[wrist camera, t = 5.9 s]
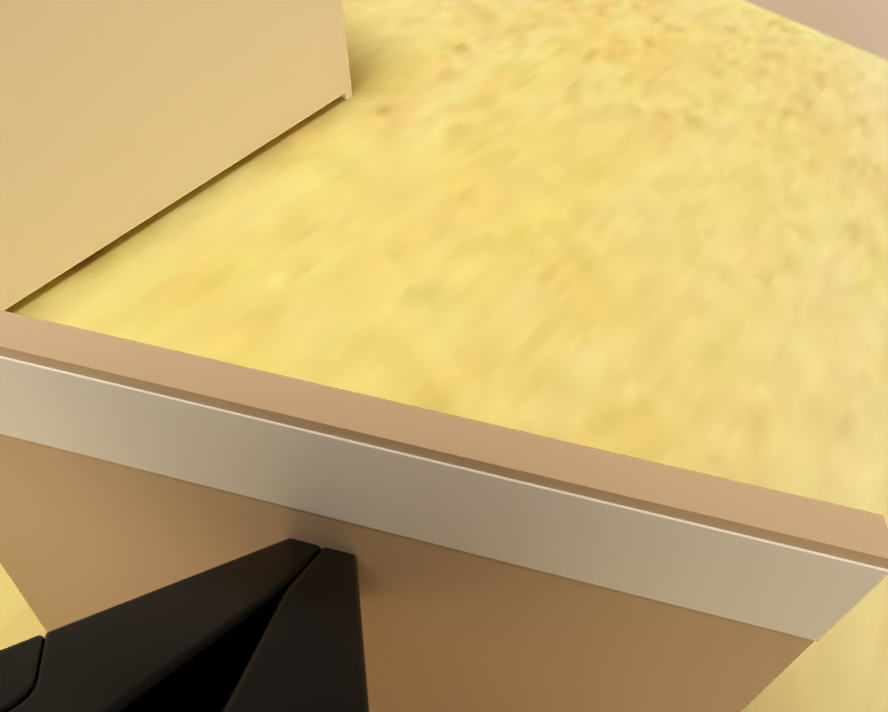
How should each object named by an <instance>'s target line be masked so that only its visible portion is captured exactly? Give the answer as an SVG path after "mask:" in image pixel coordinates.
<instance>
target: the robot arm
mask: <svg viewBox="0 0 888 712" xmlns="http://www.w3.org/2000/svg"><path fill="white" fill-rule="evenodd" d="M0 712H369V700H368V688H367V676H366V664H365V652H364V640H363V627H362V615H361V603H360V591H359V579H358V567H357V557H356V556H355V555H353V554H350V553H347V552H343V551H339V550H335V549H331V548H327V547H325V548H323V549H322V550H321V548H320V547H319V546H318V545H316V544H312V543H308V542H304V541H300V540H296V539H292V538H288V539H286V540H283V541H280V542H278V543H275V544H273V545H270V546H268V547H265V548H262V549H260V550H257V551H255V552H252V553H250V554H247V555H244V556H242V557H239V558H237V559H234V560H232V561H229V562H226V563H224V564H221V565H219V566H216V567H214V568H211V569H209V570H206V571H203V572H201V573H198V574H196V575H193V576H191V577H188V578H185V579H183V580H180V581H178V582H175V583H173V584H170V585H167V586H165V587H162V588H160V589H157V590H155V591H152V592H149V593H147V594H144V595H142V596H139V597H137V598H134V599H131V600H129V601H126V602H124V603H121V604H119V605H116V606H113V607H111V608H108V609H106V610H103V611H101V612H98V613H95V614H93V615H90V616H88V617H85V618H83V619H80V620H77V621H75V622H72V623H70V624H67V625H64V626H62V627H59V628H57V629H54V630H52V631H49V632H47V633H46V635H45V638H43V637H42V636H40V635H39V636H36V637H33V638H31V639H28V640H26V641H23V642H20V643H18V644H15V645H13V646H10V647H8V648H5V649H2V650H0Z"/></svg>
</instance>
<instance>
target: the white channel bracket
mask: <svg viewBox="0 0 888 712" xmlns="http://www.w3.org/2000/svg"><path fill="white" fill-rule="evenodd" d="M340 96H341V97H343V98H344V99H346V100H347V99H348V98H350V97H351V96H352V86H351V77H350V68H349V59H348V50H347V40H346V31H345V22H344V13H343V4H342V0H0V310H2V311H4V310H6V309H7V308H9V307H10V306H12V305H14V304H15V303H17V302H18V301H20V300H21V299H23V298H25V297H26V296H28V295H29V294H31V293H32V292H34V291H36V290H37V289H39V288H40V287H42V286H43V285H45V284H47V283H48V282H50V281H51V280H53V279H54V278H56V277H58V276H59V275H61V274H62V273H64V272H65V271H67V270H69V269H70V268H72V267H73V266H75V265H76V264H78V263H80V262H81V261H83V260H85V259H88V257H89V256H90V255H92V254H94V253H95V252H97V251H98V250H100V249H101V248H103V247H105V246H106V245H108V244H109V243H111V242H112V241H114V240H116V239H117V238H119V237H120V236H122V235H123V234H125V233H127V232H128V231H130V230H131V229H133V228H134V227H136V226H138V225H139V224H141V223H142V222H144V221H145V220H147V219H149V218H150V217H152V216H153V215H155V214H156V213H158V212H160V211H161V210H163V209H164V208H166V207H167V206H169V205H171V204H172V203H174V202H175V201H177V200H178V199H180V198H181V197H183V196H185V195H186V194H188V193H189V192H191V191H192V190H194V189H196V188H197V187H199V186H200V185H202V184H203V183H205V182H207V181H208V180H210V179H211V178H213V177H214V176H216V175H218V174H219V173H221V172H222V171H224V170H225V169H227V168H229V167H230V166H232V165H233V164H235V163H236V162H238V161H240V160H241V159H243V158H244V157H246V156H247V155H249V154H251V153H252V152H254V151H255V150H257V149H258V148H260V147H262V146H263V145H265V144H266V143H268V142H269V141H271V140H272V139H274V138H276V137H277V136H279V135H280V134H282V133H283V132H285V131H287V130H288V129H290V128H291V127H293V126H294V125H296V124H298V123H299V122H301V121H302V120H304V119H305V118H307V117H309V116H310V115H312V114H313V113H315V112H316V111H318V110H320V109H321V108H323V107H324V106H326V105H327V104H329V103H331V102H332V101H334V100H335V99H337V98H338V97H340Z"/></svg>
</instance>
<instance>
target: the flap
mask: <svg viewBox="0 0 888 712" xmlns="http://www.w3.org/2000/svg"><path fill="white" fill-rule="evenodd" d="M288 538H292V539H296V540H300V541H304V542H308V543H312V544H316V545H318V546H319V547H320V548H321V550H322V549H323V548H325V547H327V548H331V549H335V550H339V551H343V552H347V553H350V554H353V555H355V556H356V557H357V567H358V579H359V591H360V603H361V615H362V627H363V640H364V652H365V664H366V676H367V688H368V700H369V712H741V711H742V710H743V709H744V708H745V707H746V706H747V705H748V704H749V703H750V702H751V701H752V700H753V699H754V698H755V697H756V696H757V695H758V694H759V693H760V692H761V691H762V690H764V689H765V688H766V687H767V686H768V685H769V684H770V683H771V682H772V681H773V680H774V679H775V678H776V677H777V676H778V675H779V674H780V673H781V672H782V671H783V670H784V669H785V668H786V667H788V666H789V665H790V664H791V663H792V662H793V661H794V660H795V659H796V658H797V657H798V656H799V655H800V654H801V653H802V652H803V651H804V650H805V649H806V648H807V647H808V646H809V645H810V644H812V643H813V642H814V641H818V640H819V639H820V638H821V637H822V636H823V635H824V634H825V633H826V632H827V631H829V630H830V629H831V628H832V627H833V626H834V625H835V624H836V623H837V622H838V621H839V620H840V619H841V618H842V617H843V616H844V615H845V614H846V613H847V612H848V611H850V610H851V609H852V608H853V607H854V606H855V605H856V604H857V603H858V602H859V601H860V600H861V599H862V598H863V597H864V596H865V595H866V594H867V593H868V592H870V591H871V590H872V589H873V588H874V587H875V586H876V585H877V584H878V583H879V582H880V581H881V580H882V579H883V578H884V577H885V576H886V575H887V574H888V529H887V526H886V523H885V520H884V517H883V515H879V514H875V513H871V512H866V511H862V510H858V509H854V508H849V507H845V506H841V505H836V504H832V503H828V502H823V501H819V500H815V499H811V498H806V497H802V496H798V495H793V494H789V493H785V492H780V491H776V490H772V489H768V488H763V487H759V486H755V485H750V484H746V483H742V482H737V481H733V480H729V479H725V478H720V477H716V476H712V475H707V474H703V473H699V472H695V471H690V470H686V469H682V468H677V467H673V466H669V465H664V464H660V463H656V462H652V461H647V460H643V459H639V458H634V457H630V456H626V455H621V454H617V453H613V452H609V451H604V450H600V449H596V448H591V447H587V446H583V445H578V444H574V443H570V442H566V441H561V440H557V439H553V438H548V437H544V436H540V435H535V434H531V433H527V432H523V431H518V430H514V429H510V428H505V427H501V426H497V425H492V424H488V423H484V422H480V421H475V420H471V419H467V418H462V417H458V416H454V415H450V414H445V413H441V412H437V411H432V410H428V409H424V408H419V407H415V406H411V405H407V404H402V403H398V402H394V401H389V400H385V399H381V398H376V397H372V396H368V395H364V394H359V393H355V392H351V391H346V390H342V389H338V388H333V387H329V386H325V385H321V384H316V383H312V382H308V381H303V380H299V379H295V378H290V377H286V376H282V375H278V374H273V373H269V372H265V371H260V370H256V369H252V368H247V367H243V366H239V365H235V364H230V363H226V362H222V361H217V360H213V359H209V358H204V357H200V356H196V355H192V354H187V353H183V352H179V351H174V350H170V349H166V348H162V347H157V346H153V345H149V344H144V343H140V342H136V341H131V340H127V339H123V338H119V337H114V336H110V335H106V334H101V333H97V332H93V331H88V330H84V329H80V328H76V327H71V326H67V325H63V324H58V323H54V322H50V321H45V320H41V319H37V318H33V317H28V316H24V315H20V314H15V313H11V312H7V311H2V310H0V563H1V564H2V566H3V567H4V568H5V570H6V571H7V573H8V574H9V576H10V577H11V579H12V580H13V582H14V583H15V585H16V586H17V588H18V589H19V591H20V592H21V594H22V595H23V597H24V598H25V600H26V601H27V603H28V604H29V606H30V607H31V609H32V610H33V612H34V613H35V615H36V616H37V618H38V619H39V621H40V622H41V624H42V625H43V627H44V628H45V629H46V631H47V632H49V631H52V630H54V629H57V628H59V627H62V626H64V625H67V624H70V623H72V622H75V621H77V620H80V619H83V618H85V617H88V616H90V615H93V614H95V613H98V612H101V611H103V610H106V609H108V608H111V607H113V606H116V605H119V604H121V603H124V602H126V601H129V600H131V599H134V598H137V597H139V596H142V595H144V594H147V593H149V592H152V591H155V590H157V589H160V588H162V587H165V586H167V585H170V584H173V583H175V582H178V581H180V580H183V579H185V578H188V577H191V576H193V575H196V574H198V573H201V572H203V571H206V570H209V569H211V568H214V567H216V566H219V565H221V564H224V563H226V562H229V561H232V560H234V559H237V558H239V557H242V556H244V555H247V554H250V553H252V552H255V551H257V550H260V549H262V548H265V547H268V546H270V545H273V544H275V543H278V542H280V541H283V540H286V539H288Z"/></svg>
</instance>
